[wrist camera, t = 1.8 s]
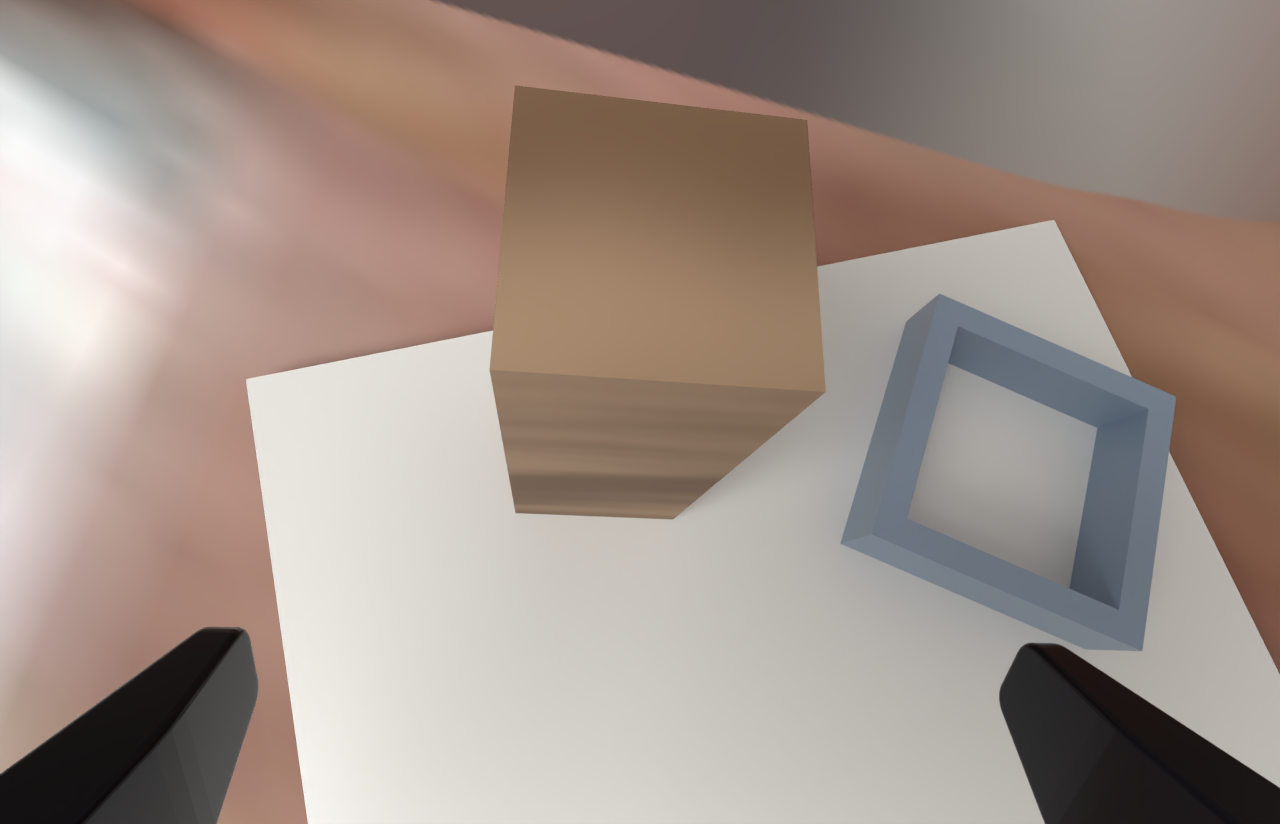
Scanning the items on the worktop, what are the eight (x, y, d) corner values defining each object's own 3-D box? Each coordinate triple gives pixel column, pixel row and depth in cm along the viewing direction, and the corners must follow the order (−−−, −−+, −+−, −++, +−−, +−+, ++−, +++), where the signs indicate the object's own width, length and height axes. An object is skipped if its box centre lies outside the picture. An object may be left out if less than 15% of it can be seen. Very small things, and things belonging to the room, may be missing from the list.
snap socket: (1085, 649, 20) (1142, 651, 18) (840, 543, 20) (871, 534, 18) (1123, 416, 23) (1176, 396, 21) (906, 321, 23) (939, 293, 21)
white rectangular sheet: (1333, 849, 20) (1371, 860, 19) (391, 1301, 15) (381, 1348, 14) (1035, 234, 26) (1054, 219, 25) (259, 391, 20) (245, 379, 19)
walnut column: (672, 519, 20) (825, 391, 9) (515, 513, 19) (489, 369, 9) (673, 373, 21) (807, 119, 11) (526, 364, 20) (515, 85, 10)
